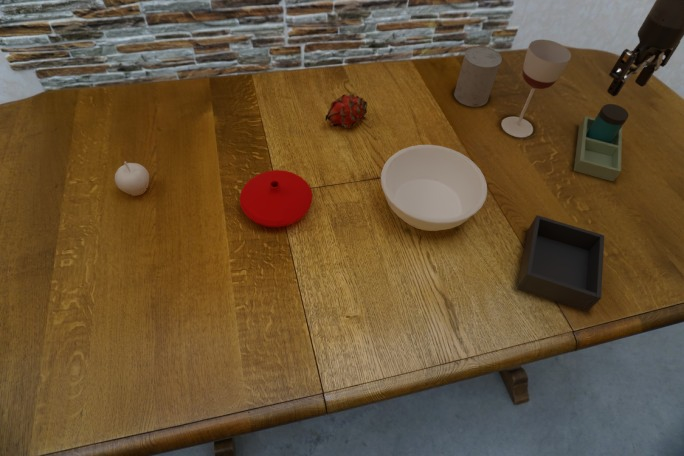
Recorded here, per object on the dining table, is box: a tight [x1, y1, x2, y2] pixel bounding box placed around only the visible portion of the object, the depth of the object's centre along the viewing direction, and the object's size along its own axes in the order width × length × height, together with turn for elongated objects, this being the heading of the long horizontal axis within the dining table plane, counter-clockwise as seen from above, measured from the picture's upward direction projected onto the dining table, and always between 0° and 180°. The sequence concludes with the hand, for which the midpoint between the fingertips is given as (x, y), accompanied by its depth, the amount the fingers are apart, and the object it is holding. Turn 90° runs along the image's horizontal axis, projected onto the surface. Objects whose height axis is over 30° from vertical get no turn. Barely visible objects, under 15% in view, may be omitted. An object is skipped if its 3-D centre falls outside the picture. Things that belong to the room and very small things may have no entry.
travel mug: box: [586, 103, 629, 144], centre depth 115 cm, size 6×6×9 cm
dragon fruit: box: [324, 93, 368, 130], centre depth 117 cm, size 8×8×12 cm
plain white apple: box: [114, 161, 150, 197], centre depth 101 cm, size 7×7×8 cm
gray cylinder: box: [453, 45, 503, 108], centre depth 124 cm, size 10×10×12 cm
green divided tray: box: [573, 115, 623, 182], centre depth 115 cm, size 9×18×4 cm, turn 159°
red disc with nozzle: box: [239, 169, 313, 228], centre depth 100 cm, size 16×16×7 cm
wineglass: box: [500, 39, 572, 138], centre depth 113 cm, size 9×10×22 cm
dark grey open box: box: [516, 214, 605, 313], centre depth 92 cm, size 14×16×6 cm
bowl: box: [380, 144, 488, 232], centre depth 100 cm, size 22×22×8 cm
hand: (625, 89), depth 100 cm, fingers open, 8 cm apart
